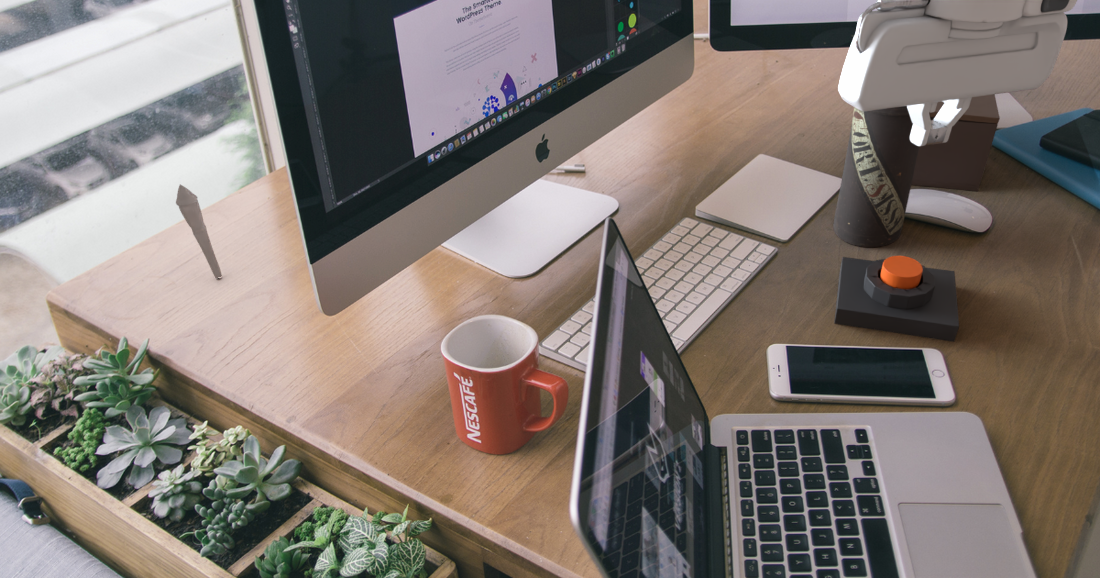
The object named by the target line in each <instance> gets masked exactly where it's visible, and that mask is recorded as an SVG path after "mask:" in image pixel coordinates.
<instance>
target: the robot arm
mask: <svg viewBox="0 0 1100 578" xmlns="http://www.w3.org/2000/svg"><path fill="white" fill-rule="evenodd" d="M1077 2H1078V0H876V1H875V3H872V4H871V5H870V6H868V7H867V8H866V9H865V10H864V11H863V12H862V13H861V14H860V15H859V17H858V20H857V22H856V23H857V24H856V29H855V33H854V35H853V38H852V40H851V43H850V46H849V48H848V51H847V54H846V57H845V60H844V62H843V66H842V70H841V74H840V77H839V81H838V86H837V91H838V94H839V95H840V97H841V99H842V100H843V101H844V102H845V103H847V104H848V105H850V106H851V107H853V108H854V107H855V108H857V109H859V110H861V111H871V110H879V109H886V108H894V107H902V106H907V108H908V111H909V114H910V118H911V121H912V123H913V126H912V130H911V134H910V141H911V142H912V143H914V144H915V145H917V146H925V145H931V144H939V143H945V142H947V141H948V139H949V135H950V132H951V129H952V126H954V125H955V123H956V122H957V121H958V120H959V119H960V118H961V116H962V115H963V114H964V113H965V112H966V110H967V109H968V108H969V105H970V102H971V99H972V97H978V96H986V95H993V94H995V95H1000V94H1007V93H1016V92H1017V93H1018V92H1023V91H1032V90H1036V89H1039V88H1040V87H1041V86H1042V85H1044V83H1045V82H1046V81H1047V80H1048V78H1050V76H1051V74H1052V72H1053V70H1054V68H1055V65H1056V63H1057V60H1058V58H1059V55H1060V51H1061V49H1062V47H1063V43H1064V40H1065V37H1066V33H1067V28H1068V17H1067V15H1066V13H1067V12H1069V11H1071V10H1072V9H1074V7H1075V6H1076V5H1077ZM940 101H942V102H944V105H943V106H942V108H941V109H940V111H939V112H938V114H937V115H936V117H935V118H934V120H930V115H929V112H930V113H932V112H935V110H936V106H937V103H938V102H940Z"/></svg>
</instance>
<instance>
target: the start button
mask: <svg viewBox="0 0 1100 578" xmlns="http://www.w3.org/2000/svg"><path fill="white" fill-rule="evenodd" d="M884 259H885V260H884V262H883V265H882V270H881V274H880V278H881V280H882V282H883V283H885V284H887V285H889V286H891V287H893V288H898V289H906V290H907V289H912V288H916V287H917V286H918V285H919V283H920V279H921V275H922V271H923V267H922V265H923V264H921V262H919V261H917V260H916V259H914V258H912V257H909V256H905V255H892V256H889V257H886V258H884Z"/></svg>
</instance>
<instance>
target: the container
mask: <svg viewBox="0 0 1100 578" xmlns="http://www.w3.org/2000/svg"><path fill="white" fill-rule="evenodd" d="M912 126H913V123H912V121H911V118H910V114H909V111H908V108H907V106H902V107H894V108H886V109H879V110H871V111H861V110H859V109H857V108H855V107H853V114H852V120H851V126H850V132H849V136H848V143H847V148H846V153H845V160H844V166H843V170H842V175H841V176H842V177H841V182H840V187H839V192H838V196H837V198H838V199H837V202H836V206H835V212H834V216H833V217H834V218H833V224H832V228H833V232H834V234H835V235H836V236H837V237H838V238H839V239H840V240H842V241H843V242H845V243H847V244H849V245H853V246H856V247H863V248H879V247H884V246H889V245H891V244H893V243H894V242H896V241H898V239H899V238H900V236H901V234H902V230H903V227H904V223H905V217H906V212H907V207H908V202H909V198H910V193H911V188H912V185H911V183H912V179H913V174H914V169H915V165H916V160H917V155H918V150H919V146H917V145H915V144H914V143H912V142H911V141H910V134H911V130H912Z"/></svg>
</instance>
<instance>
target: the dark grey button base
mask: <svg viewBox="0 0 1100 578" xmlns="http://www.w3.org/2000/svg"><path fill="white" fill-rule="evenodd" d="M885 259H886V258H882V259H876V260H870V259H862V258H855V257H847V256H842V257H841V263H840V268H839V274H838V282H837V293H836V301H835V302H836V303H835V313H834V321H833V323H834V325H841V326H846V327H847V326H848V327H854V328H861V329H868V330H873V331H880V332H886V333H887V332H888V333H894V334H900V335H907V336H911V337H912V336H913V337H919V338H925V339H926V338H927V339H931V340H932V339H933V340H939V341H945V342H952V343H954V342H955V341H956V338H957V334H958V331H959V329H960V323H959V322H960V321H959V308H958V298H957V297H958V296H957V295H958V294H957V285H956V273H955V270H949V269H941V268H934V267H933V268H932V267H927V266H925V265H923V264H921V265H922V267H923V271H922V275H921V279H920V283H919V285H918V286H917V287H916V288H912V289H907V290H906V289H898V288H893V287H891V286H889V285H887V284H885V283H883V282H882V280H881V278H880V274H881V270H882V265H883V262H884V260H885Z"/></svg>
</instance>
